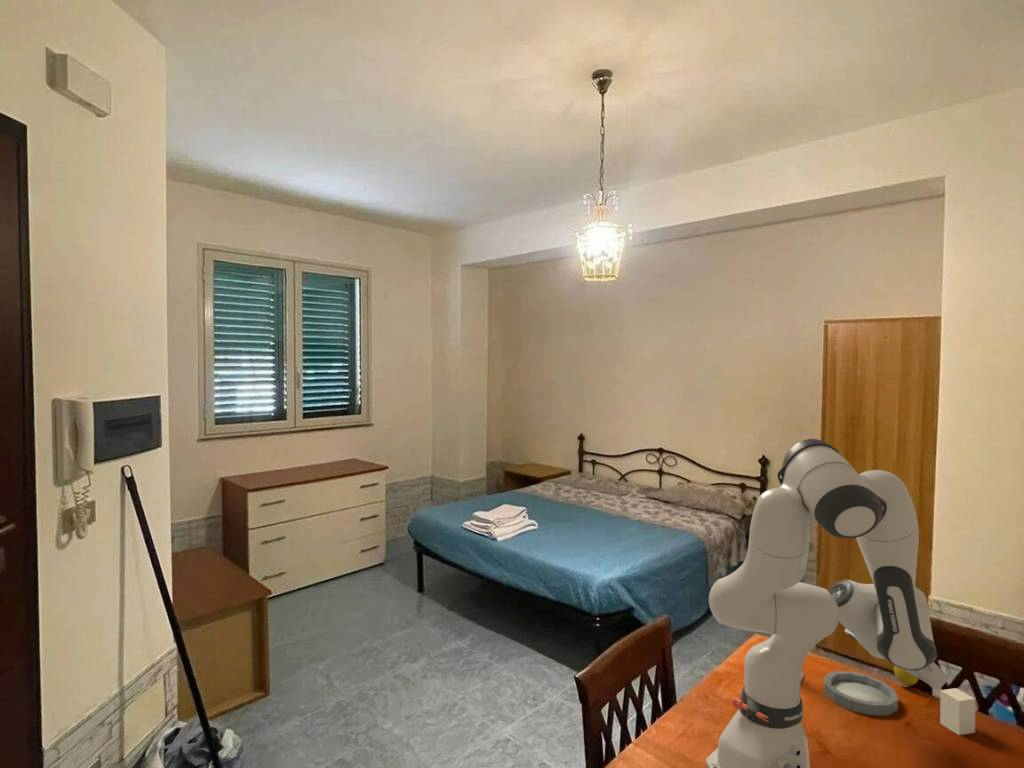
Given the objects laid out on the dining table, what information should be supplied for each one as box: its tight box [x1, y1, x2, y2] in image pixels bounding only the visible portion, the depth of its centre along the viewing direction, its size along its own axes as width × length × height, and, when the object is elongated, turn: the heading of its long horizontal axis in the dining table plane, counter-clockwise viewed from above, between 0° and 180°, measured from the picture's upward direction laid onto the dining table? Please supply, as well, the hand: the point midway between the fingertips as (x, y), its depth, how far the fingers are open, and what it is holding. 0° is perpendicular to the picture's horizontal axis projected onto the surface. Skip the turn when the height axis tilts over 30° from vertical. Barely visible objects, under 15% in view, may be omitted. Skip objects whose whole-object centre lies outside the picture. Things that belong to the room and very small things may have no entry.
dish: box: [823, 670, 899, 717], centre depth 146 cm, size 16×16×3 cm
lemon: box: [893, 665, 920, 687], centre depth 151 cm, size 6×6×8 cm
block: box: [939, 687, 976, 736], centre depth 133 cm, size 5×5×8 cm
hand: (916, 674), depth 131 cm, fingers open, 8 cm apart
